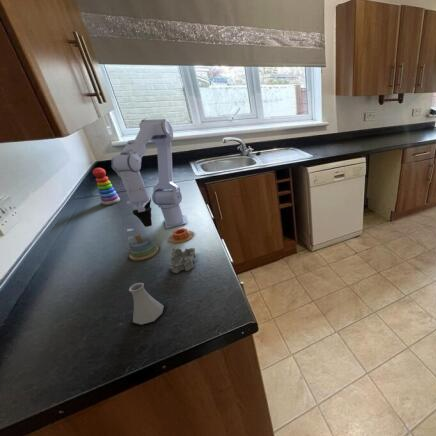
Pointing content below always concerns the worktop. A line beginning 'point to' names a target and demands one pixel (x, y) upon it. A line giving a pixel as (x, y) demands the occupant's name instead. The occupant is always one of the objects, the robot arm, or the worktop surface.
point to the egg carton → (182, 259)
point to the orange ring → (180, 234)
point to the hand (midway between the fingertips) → (148, 221)
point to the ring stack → (142, 248)
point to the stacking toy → (105, 187)
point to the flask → (144, 305)
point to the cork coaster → (181, 239)
